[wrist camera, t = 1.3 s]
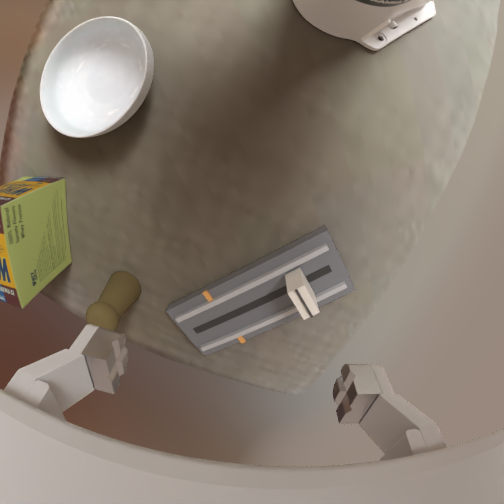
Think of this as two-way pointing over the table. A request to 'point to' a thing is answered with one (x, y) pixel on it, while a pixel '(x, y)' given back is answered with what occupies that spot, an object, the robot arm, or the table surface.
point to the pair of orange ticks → (211, 300)
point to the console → (261, 294)
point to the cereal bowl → (96, 77)
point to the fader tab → (301, 293)
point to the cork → (114, 300)
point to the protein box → (32, 237)
